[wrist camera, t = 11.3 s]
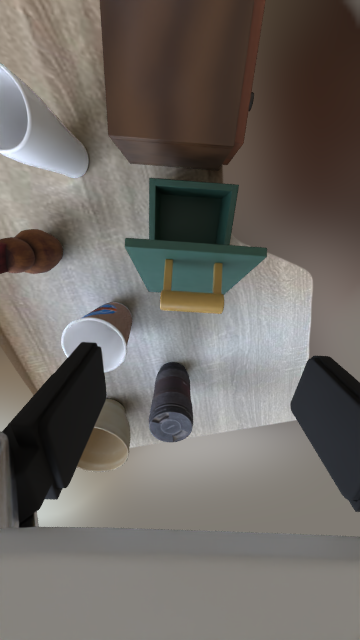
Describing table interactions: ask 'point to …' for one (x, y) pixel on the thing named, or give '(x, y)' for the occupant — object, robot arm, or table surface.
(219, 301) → the lid
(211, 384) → the table surface
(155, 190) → the chest
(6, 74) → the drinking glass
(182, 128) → the cabinet
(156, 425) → the camera lens
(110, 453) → the planter bowl
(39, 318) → the table surface
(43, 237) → the wooden figurine
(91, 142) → the table surface
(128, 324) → the coffee cup
